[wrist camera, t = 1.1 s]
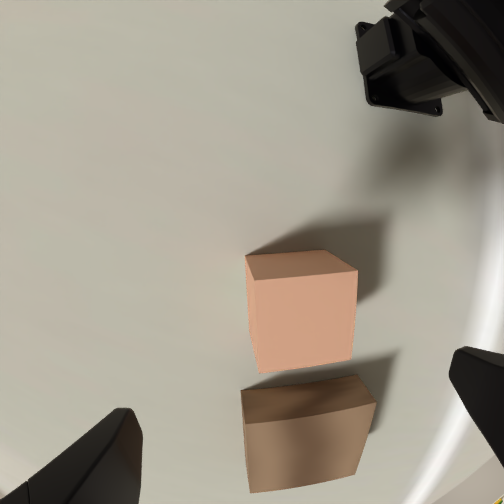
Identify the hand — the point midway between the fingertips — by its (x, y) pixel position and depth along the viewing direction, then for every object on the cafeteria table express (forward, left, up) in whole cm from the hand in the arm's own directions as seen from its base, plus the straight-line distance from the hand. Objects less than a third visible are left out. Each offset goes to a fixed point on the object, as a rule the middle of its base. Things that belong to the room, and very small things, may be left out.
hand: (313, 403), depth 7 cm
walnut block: (-3, +14, -13) cm, 19 cm away
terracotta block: (-2, +2, -12) cm, 13 cm away
